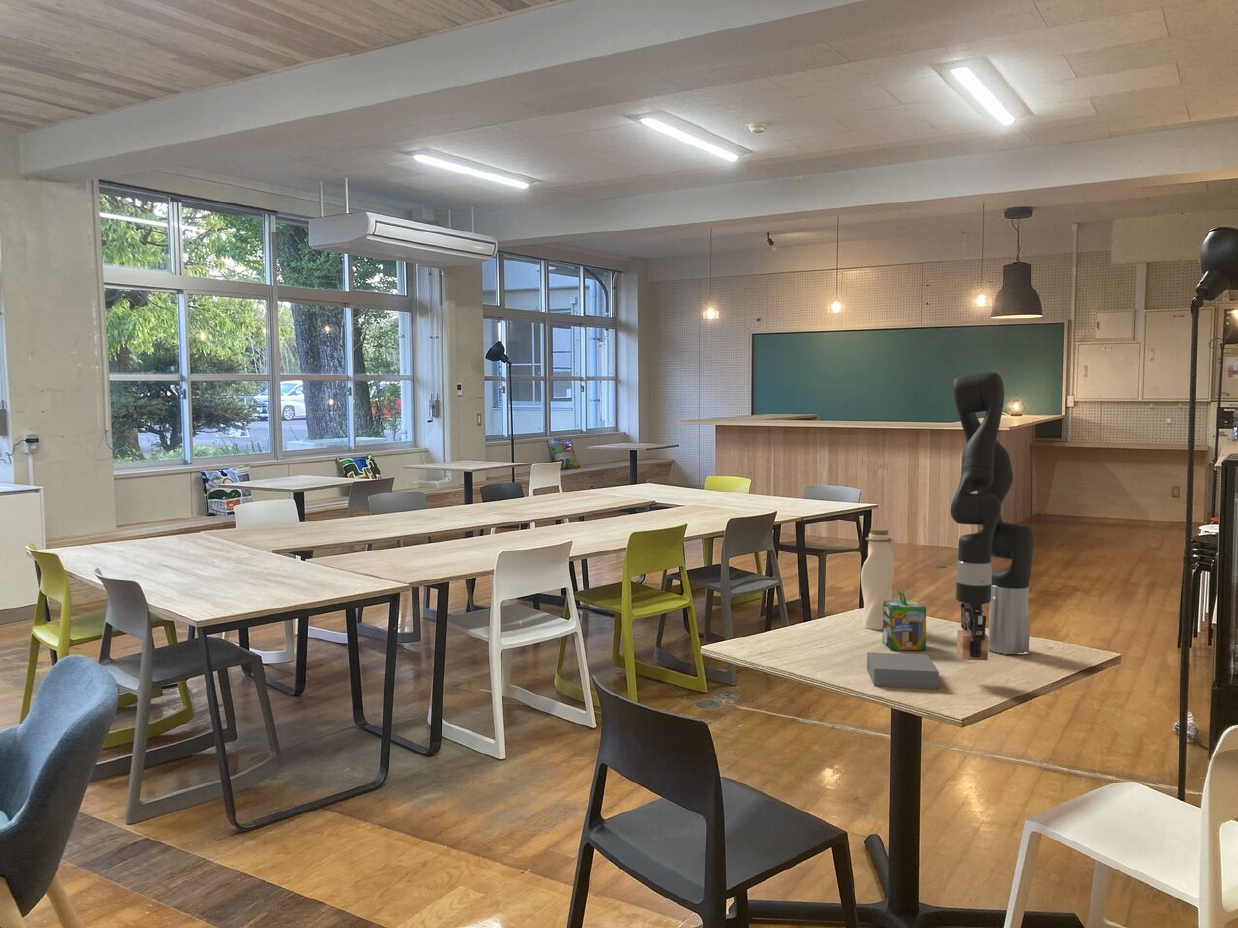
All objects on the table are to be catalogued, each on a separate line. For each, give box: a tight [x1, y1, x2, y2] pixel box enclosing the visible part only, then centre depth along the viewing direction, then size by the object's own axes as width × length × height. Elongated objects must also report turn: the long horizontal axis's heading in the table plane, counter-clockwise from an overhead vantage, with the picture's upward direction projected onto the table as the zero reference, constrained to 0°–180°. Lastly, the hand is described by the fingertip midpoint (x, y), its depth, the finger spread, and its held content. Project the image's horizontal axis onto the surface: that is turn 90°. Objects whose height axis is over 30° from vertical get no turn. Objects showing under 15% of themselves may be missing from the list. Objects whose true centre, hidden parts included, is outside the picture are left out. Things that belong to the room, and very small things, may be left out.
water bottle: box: [860, 527, 896, 631], centre depth 270 cm, size 10×9×28 cm
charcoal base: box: [866, 651, 940, 690], centre depth 220 cm, size 14×14×4 cm
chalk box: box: [882, 589, 927, 651], centre depth 248 cm, size 9×9×15 cm
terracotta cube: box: [956, 629, 989, 661], centre depth 217 cm, size 6×6×6 cm
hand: (972, 652), depth 217 cm, fingers closed on terracotta cube, 5 cm apart
